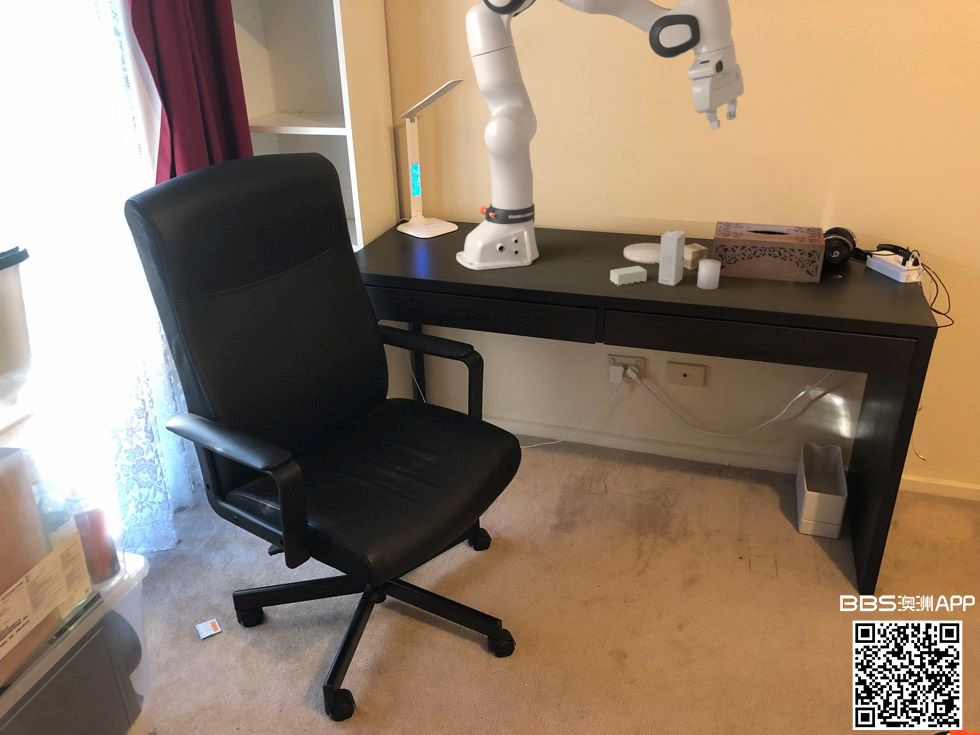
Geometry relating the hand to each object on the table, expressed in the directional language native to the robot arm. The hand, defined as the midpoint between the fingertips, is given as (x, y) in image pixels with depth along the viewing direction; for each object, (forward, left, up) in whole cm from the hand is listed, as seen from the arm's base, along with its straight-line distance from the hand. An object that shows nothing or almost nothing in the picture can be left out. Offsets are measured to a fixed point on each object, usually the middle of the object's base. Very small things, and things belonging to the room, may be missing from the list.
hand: (723, 123), depth 188 cm
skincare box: (-13, -1, -37) cm, 39 cm away
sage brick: (-22, +4, -37) cm, 43 cm away
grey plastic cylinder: (-7, -8, -37) cm, 38 cm away
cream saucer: (-6, +18, -37) cm, 41 cm away
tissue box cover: (+13, -5, -37) cm, 40 cm away
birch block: (-1, +6, -37) cm, 37 cm away
